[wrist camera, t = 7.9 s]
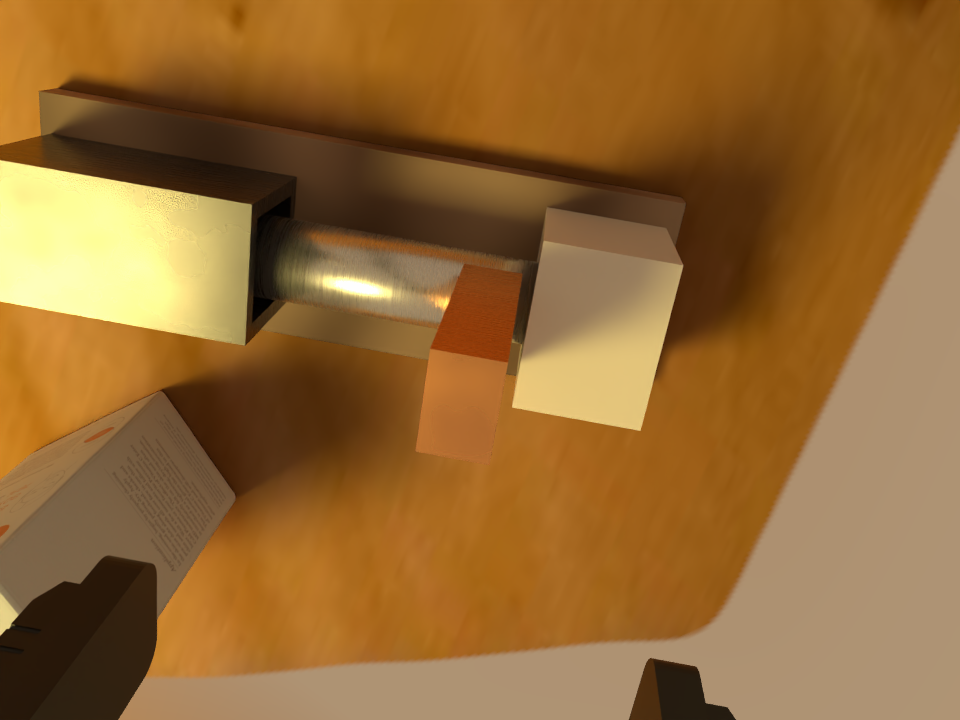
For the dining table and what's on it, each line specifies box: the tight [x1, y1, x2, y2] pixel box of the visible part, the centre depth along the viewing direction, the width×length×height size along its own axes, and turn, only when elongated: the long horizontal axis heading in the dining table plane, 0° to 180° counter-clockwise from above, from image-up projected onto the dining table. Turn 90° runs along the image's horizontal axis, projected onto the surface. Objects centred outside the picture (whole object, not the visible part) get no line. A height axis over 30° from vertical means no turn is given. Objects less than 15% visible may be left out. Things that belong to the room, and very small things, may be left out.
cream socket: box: [512, 207, 683, 431], centre depth 30 cm, size 4×6×5 cm
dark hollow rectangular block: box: [0, 134, 297, 346], centre depth 31 cm, size 10×5×5 cm, turn 81°
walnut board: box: [39, 88, 686, 376], centre depth 33 cm, size 24×8×1 cm, turn 81°
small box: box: [0, 391, 236, 635], centre depth 33 cm, size 8×6×13 cm
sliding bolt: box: [253, 214, 539, 465], centre depth 27 cm, size 14×3×11 cm, turn 81°
